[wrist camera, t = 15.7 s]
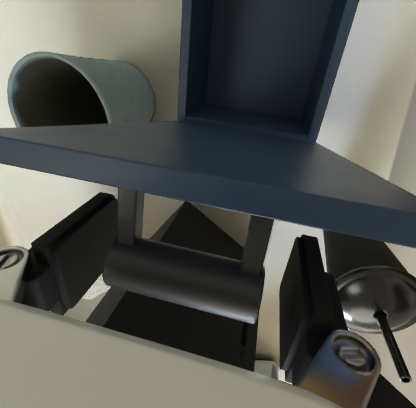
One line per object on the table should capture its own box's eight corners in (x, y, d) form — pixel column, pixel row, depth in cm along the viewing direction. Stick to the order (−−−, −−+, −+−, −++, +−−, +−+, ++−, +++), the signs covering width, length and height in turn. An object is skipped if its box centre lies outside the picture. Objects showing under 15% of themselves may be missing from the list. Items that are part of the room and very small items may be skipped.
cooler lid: (-35, 129, 7) (-9, 289, 9) (470, 223, 6) (378, 401, 7) (175, 120, 25) (170, 177, 26) (316, 142, 23) (300, 202, 24)
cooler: (216, -98, 23) (189, -166, 16) (367, -93, 22) (410, -169, 14) (199, 109, 32) (176, 123, 25) (306, 125, 30) (314, 145, 23)
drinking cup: (385, 200, 32) (508, 360, 15) (364, 250, 36) (444, 424, 19) (318, 191, 33) (362, 329, 16) (305, 240, 37) (329, 395, 20)
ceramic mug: (230, 351, 52) (223, 393, 46) (272, 351, 50) (271, 396, 43) (244, 382, 57) (239, 425, 50) (283, 385, 54) (284, 430, 47)
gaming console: (263, 264, 41) (236, 609, 15) (201, 306, 48) (114, 583, 23) (187, 199, 38) (3, 477, 13) (135, 254, 46) (-46, 497, 20)
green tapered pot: (92, 41, 31) (1, 32, 21) (171, 72, 31) (118, 78, 21) (86, 124, 37) (11, 149, 26) (153, 151, 36) (104, 187, 26)
